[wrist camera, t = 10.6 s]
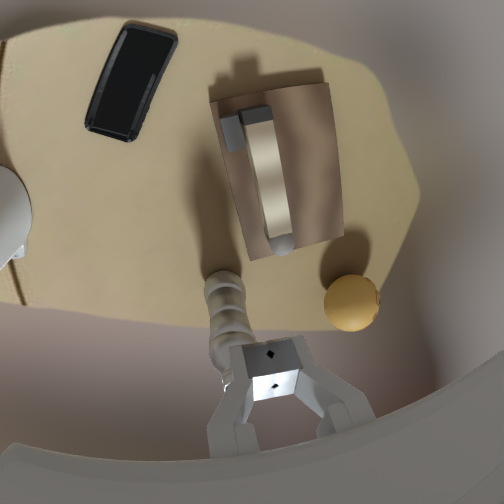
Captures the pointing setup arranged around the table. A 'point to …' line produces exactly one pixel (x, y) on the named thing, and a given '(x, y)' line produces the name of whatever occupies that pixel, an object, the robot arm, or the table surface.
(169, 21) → the table surface
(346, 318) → the stress ball
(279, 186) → the stool leg
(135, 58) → the phone
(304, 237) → the seat board
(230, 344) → the plastic bottle
